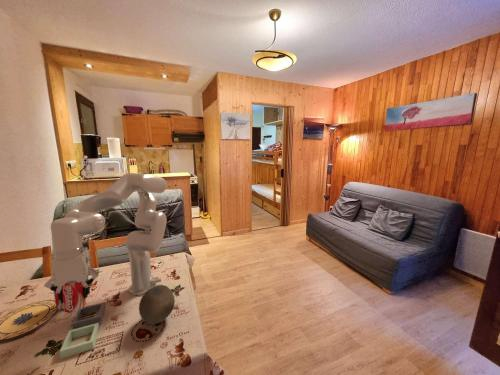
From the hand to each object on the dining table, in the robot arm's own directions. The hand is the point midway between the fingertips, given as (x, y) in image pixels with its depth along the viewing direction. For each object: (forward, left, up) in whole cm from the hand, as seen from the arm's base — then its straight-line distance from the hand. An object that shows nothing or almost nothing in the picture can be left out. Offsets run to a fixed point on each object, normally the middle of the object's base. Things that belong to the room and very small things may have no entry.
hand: (75, 297), depth 77 cm
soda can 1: (+12, -27, -19) cm, 35 cm away
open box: (0, -6, -19) cm, 20 cm away
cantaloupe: (-27, +1, -19) cm, 33 cm away
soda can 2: (0, 0, -4) cm, 4 cm away
